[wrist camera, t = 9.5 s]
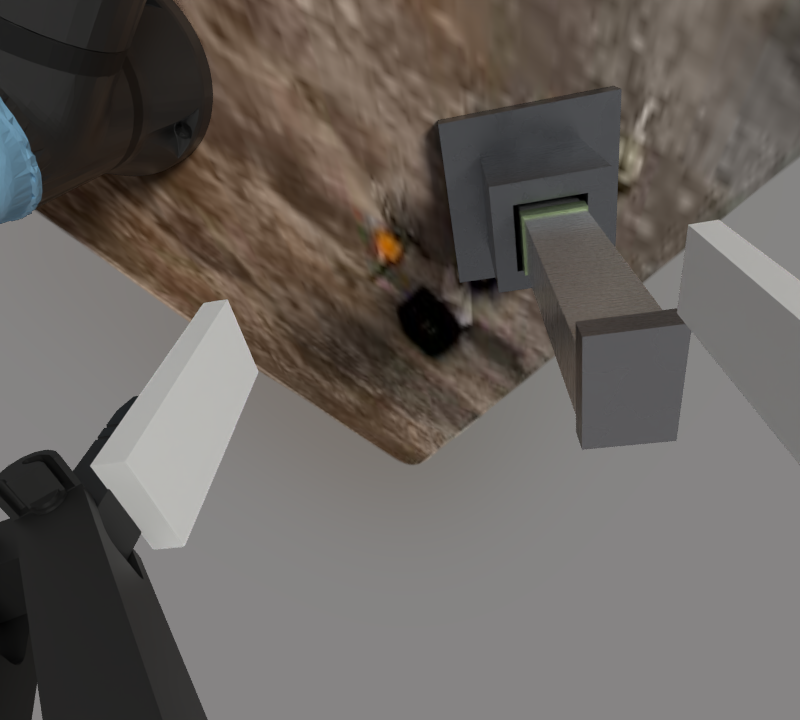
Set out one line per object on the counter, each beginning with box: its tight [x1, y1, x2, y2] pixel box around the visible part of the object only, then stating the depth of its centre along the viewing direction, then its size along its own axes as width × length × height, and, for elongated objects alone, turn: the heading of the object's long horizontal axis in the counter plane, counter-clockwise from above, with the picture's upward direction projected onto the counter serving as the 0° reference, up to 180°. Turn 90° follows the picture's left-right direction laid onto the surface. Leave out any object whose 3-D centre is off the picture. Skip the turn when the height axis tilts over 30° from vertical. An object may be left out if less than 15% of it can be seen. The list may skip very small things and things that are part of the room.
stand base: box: [438, 86, 621, 292], centre depth 41 cm, size 14×14×11 cm
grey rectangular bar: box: [516, 195, 691, 449], centre depth 30 cm, size 4×6×21 cm
